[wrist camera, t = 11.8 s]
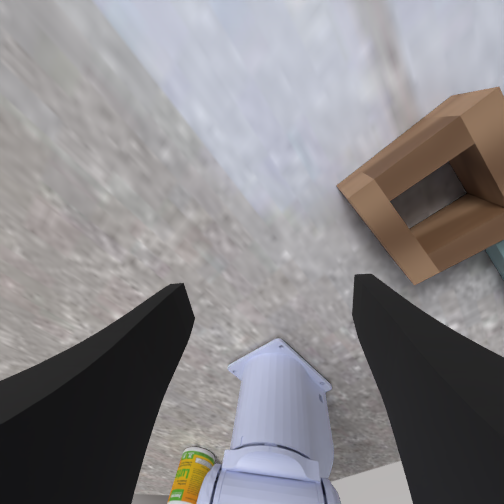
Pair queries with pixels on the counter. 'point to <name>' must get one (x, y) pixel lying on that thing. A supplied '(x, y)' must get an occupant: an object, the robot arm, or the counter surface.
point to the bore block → (424, 163)
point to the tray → (497, 256)
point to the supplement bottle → (191, 475)
